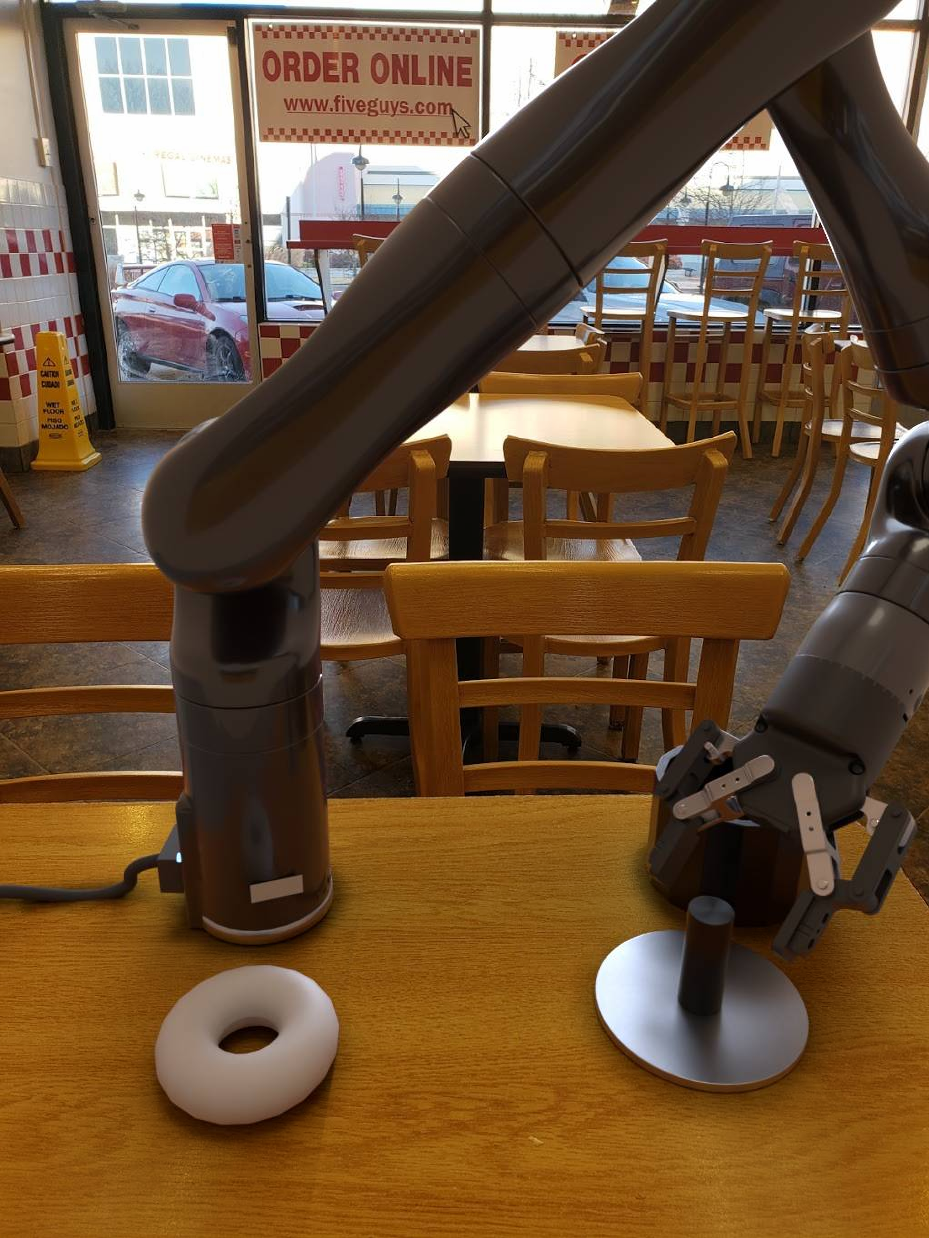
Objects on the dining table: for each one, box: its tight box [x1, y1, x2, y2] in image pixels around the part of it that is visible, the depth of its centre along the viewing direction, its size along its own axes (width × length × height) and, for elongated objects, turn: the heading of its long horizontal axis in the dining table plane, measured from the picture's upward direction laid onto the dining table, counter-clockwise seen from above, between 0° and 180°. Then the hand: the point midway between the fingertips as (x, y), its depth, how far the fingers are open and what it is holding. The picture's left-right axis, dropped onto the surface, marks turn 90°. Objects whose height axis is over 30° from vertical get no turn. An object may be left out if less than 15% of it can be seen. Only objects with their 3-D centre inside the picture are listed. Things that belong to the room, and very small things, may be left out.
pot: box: [645, 744, 811, 929], centre depth 67 cm, size 11×11×8 cm
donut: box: [154, 964, 340, 1126], centre depth 52 cm, size 10×4×10 cm
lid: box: [593, 896, 810, 1094], centre depth 55 cm, size 12×12×8 cm
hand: (716, 917), depth 54 cm, fingers open, 8 cm apart
